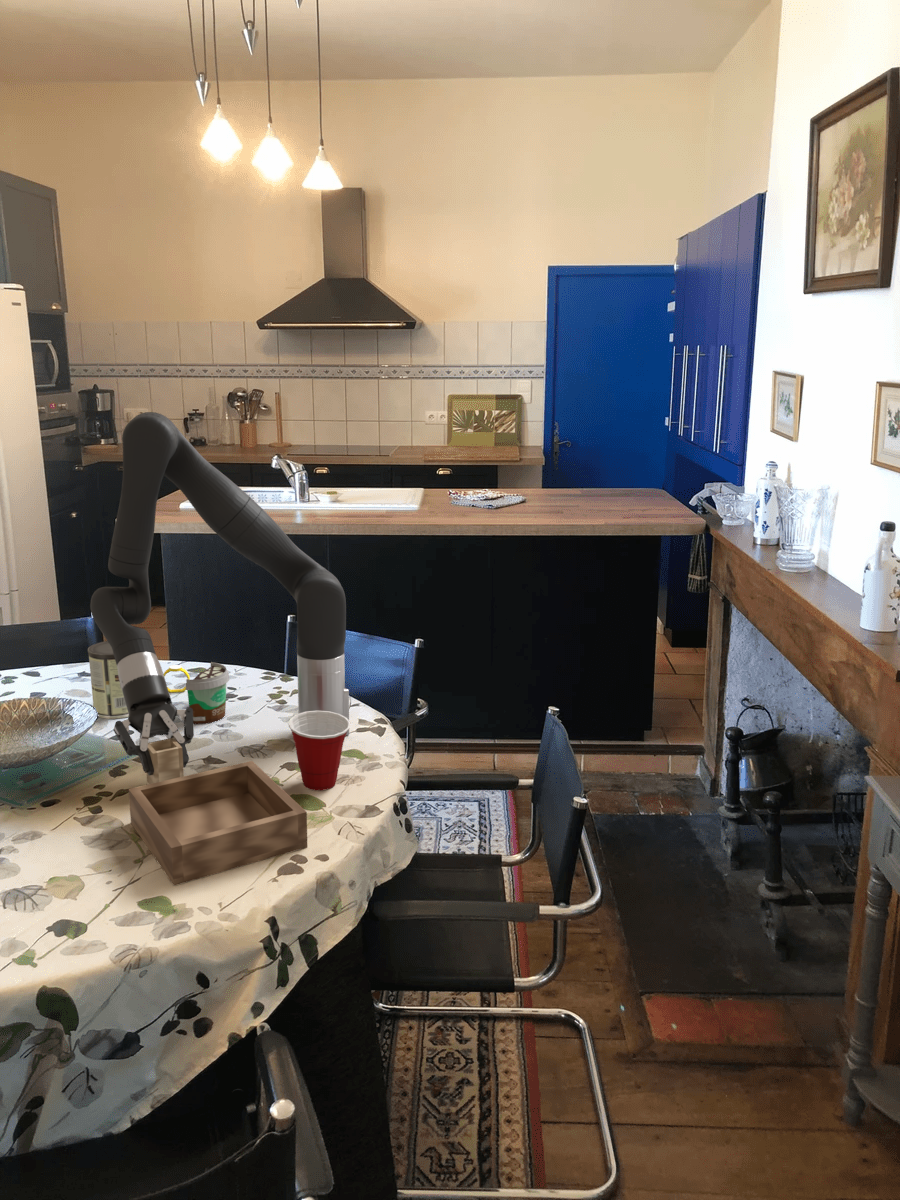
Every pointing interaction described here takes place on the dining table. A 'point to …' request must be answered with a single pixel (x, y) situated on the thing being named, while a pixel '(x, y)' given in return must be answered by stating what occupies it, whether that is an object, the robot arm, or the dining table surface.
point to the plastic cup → (319, 746)
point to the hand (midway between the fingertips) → (168, 769)
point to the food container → (208, 694)
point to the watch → (174, 669)
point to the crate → (216, 821)
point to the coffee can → (106, 682)
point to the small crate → (165, 760)
